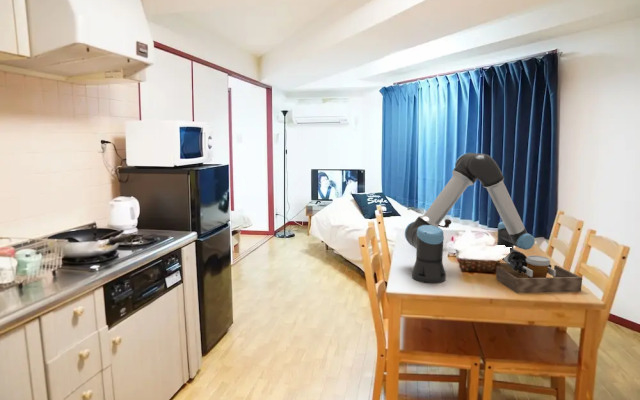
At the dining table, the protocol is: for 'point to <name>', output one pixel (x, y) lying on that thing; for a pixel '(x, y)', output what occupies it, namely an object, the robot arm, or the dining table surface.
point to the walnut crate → (541, 282)
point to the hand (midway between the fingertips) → (543, 273)
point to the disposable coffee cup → (538, 266)
